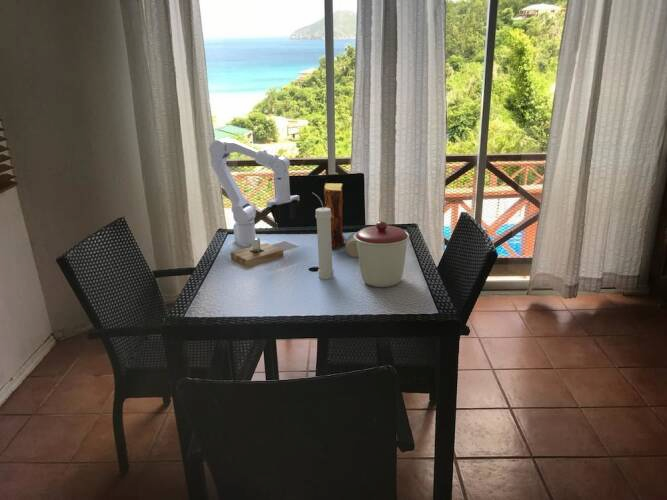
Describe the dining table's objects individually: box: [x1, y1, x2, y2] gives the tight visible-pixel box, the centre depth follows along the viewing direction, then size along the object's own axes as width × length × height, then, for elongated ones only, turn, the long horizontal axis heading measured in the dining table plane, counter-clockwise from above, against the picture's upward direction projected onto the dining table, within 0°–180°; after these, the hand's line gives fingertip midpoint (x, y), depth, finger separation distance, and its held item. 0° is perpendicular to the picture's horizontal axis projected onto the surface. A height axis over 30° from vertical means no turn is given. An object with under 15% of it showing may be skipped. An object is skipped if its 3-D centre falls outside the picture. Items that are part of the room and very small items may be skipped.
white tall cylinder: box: [311, 192, 335, 280], centre depth 188 cm, size 6×6×30 cm
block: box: [230, 242, 284, 269], centre depth 212 cm, size 12×16×3 cm
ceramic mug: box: [345, 232, 359, 259], centre depth 211 cm, size 11×8×8 cm
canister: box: [354, 220, 410, 288], centre depth 183 cm, size 18×18×21 cm
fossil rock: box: [323, 182, 346, 250], centre depth 223 cm, size 24×8×24 cm, turn 176°
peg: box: [251, 237, 261, 254], centre depth 212 cm, size 3×3×8 cm
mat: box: [271, 240, 300, 252], centre depth 224 cm, size 10×10×1 cm
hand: (284, 220), depth 223 cm, fingers open, 7 cm apart
